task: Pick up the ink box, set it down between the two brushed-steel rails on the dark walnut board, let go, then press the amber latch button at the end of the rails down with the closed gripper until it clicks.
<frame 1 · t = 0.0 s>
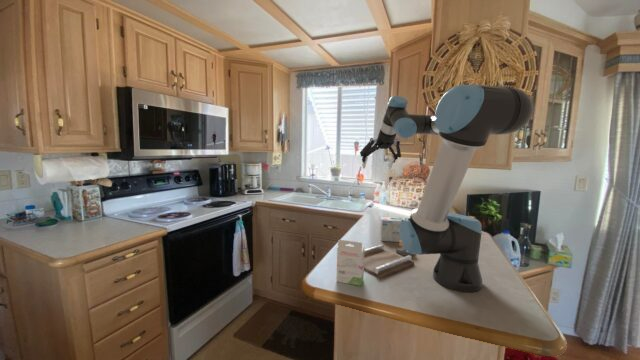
hand: (376, 167, 132), 36 cm above the table, tool tilted 35°, fingers open, 13 cm apart
snap latch: (405, 243, 114), point 4 cm above the table, slide at 0.0 cm
latch housing: (405, 253, 115), on the table
light bulb box: (390, 239, 132), on the table
rail board: (379, 262, 105), on the table
steel rails: (379, 257, 105), on the rail board, point 1 cm above the table
ink box: (349, 281, 90), on the table
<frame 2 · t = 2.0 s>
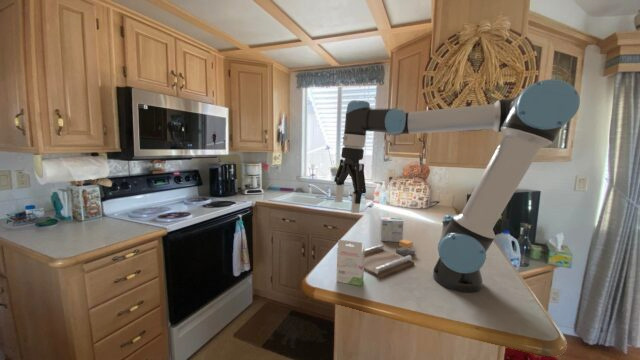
hand: (346, 206, 94), 24 cm above the table, tool pointing down, fingers open, 13 cm apart
nothing on the table moved.
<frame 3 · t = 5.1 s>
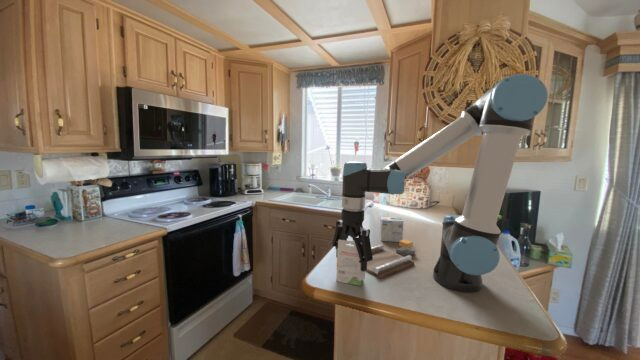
hand: (350, 273, 89), 3 cm above the table, tool pointing down, fingers closed on ink box, 9 cm apart
ink box: (349, 281, 90), on the table, touching gripper
everything else where it was.
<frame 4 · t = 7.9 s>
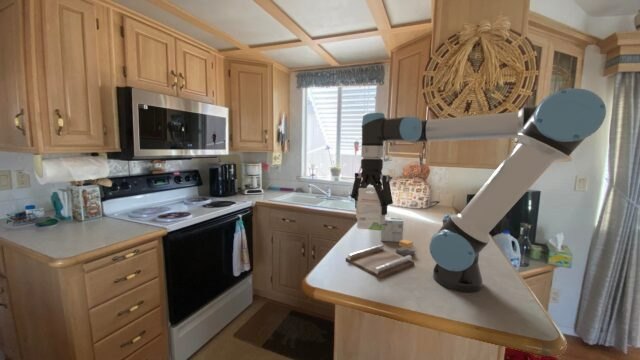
hand: (369, 220, 95), 19 cm above the table, tool pointing down, fingers closed on ink box, 9 cm apart
ink box: (369, 228, 95), point 16 cm above the table, touching gripper
everything else where it was.
when the fingers open (5 cm above the table, at t = 10.9 s): ink box drops 1 cm, resting on rail board.
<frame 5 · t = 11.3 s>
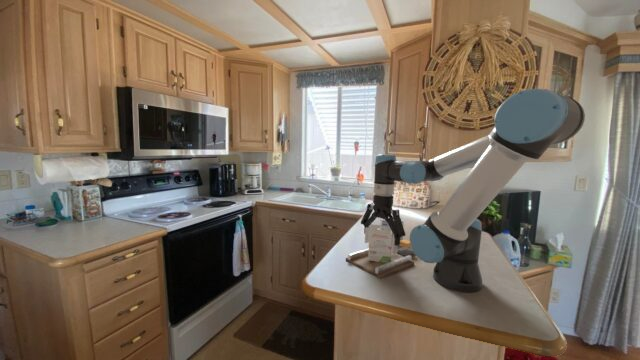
hand: (380, 247, 104), 6 cm above the table, tool pointing down, fingers open, 13 cm apart
ink box: (379, 260, 105), point 1 cm above the table, touching rail board
everything else where it was.
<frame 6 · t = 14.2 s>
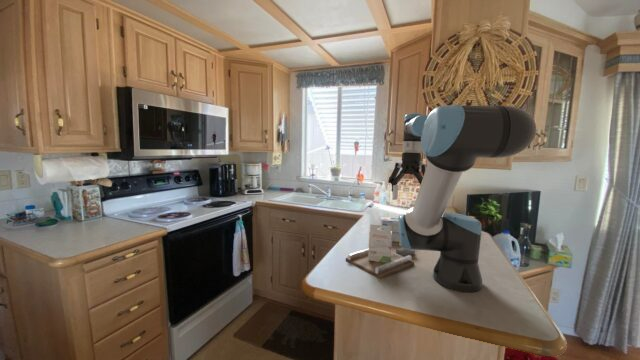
hand: (408, 202, 112), 23 cm above the table, tool pointing down, fingers open, 13 cm apart
nothing on the table moved.
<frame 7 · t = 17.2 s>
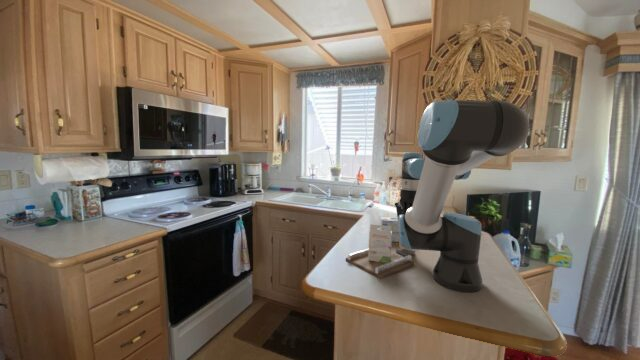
hand: (406, 242, 115), 5 cm above the table, tool pointing down, fingers closed
snap latch: (405, 245, 115), point 4 cm above the table, slide at 0.7 cm, touching gripper
everything else where it was.
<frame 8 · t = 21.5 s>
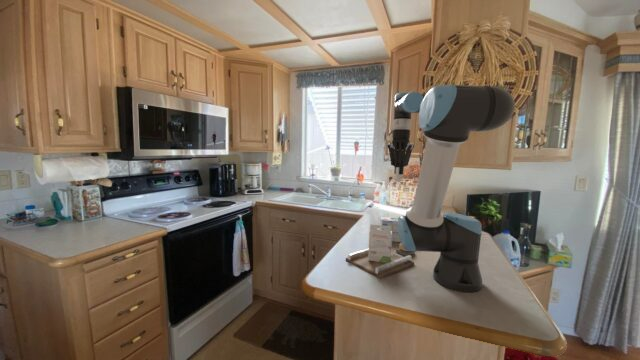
hand: (398, 181, 121), 30 cm above the table, tool pointing down, fingers closed
snap latch: (405, 246, 115), point 3 cm above the table, slide at 1.5 cm
everything else where it was.
at the end: snap latch slide at 1.5 cm; ink box inside the target area on the rail board (0.1 cm from its centre), point 0.8 cm above the rail board's base; ink box tilted 0° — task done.
